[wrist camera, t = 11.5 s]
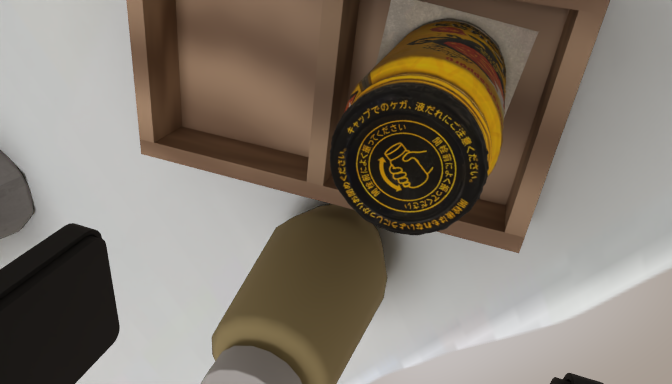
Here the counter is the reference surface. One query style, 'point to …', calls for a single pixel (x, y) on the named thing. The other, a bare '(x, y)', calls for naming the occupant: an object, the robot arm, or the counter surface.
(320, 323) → the squeeze bottle
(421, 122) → the condiment
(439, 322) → the counter surface
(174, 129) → the caddy
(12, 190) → the coffeepot
